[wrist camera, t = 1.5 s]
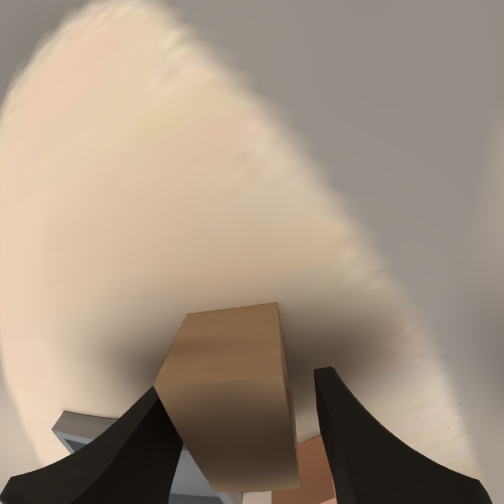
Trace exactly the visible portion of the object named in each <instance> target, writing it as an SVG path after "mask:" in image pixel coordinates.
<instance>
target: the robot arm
mask: <svg viewBox="0 0 504 504" xmlns="http://www.w3.org/2000/svg"><path fill="white" fill-rule="evenodd" d="M314 379H315V391H316V405H317V413H318V420H319V426H320V433H321V437H322V440H323V444H324V448H325V452H326V455H327V459H328V463H329V467H330V470H331V474H332V478H333V482H334V487H335V492H336V500H337V504H492V502H491V499H490V497H489V495H488V493H487V491H486V490H485V488H484V487H483V485H482V484H481V483H480V481H479V480H477V479H474V478H471V477H468V476H465V475H463V474H460V473H458V472H455V471H453V470H450V469H448V468H446V467H444V466H442V465H440V464H438V463H436V462H434V461H432V460H431V459H429V458H427V457H425V456H424V455H422V454H420V453H419V452H417V451H415V450H414V449H412V448H411V447H409V446H408V445H406V444H405V443H404V442H402V441H401V440H400V439H398V438H397V437H396V436H394V435H393V434H392V433H391V432H389V431H388V430H387V429H386V428H385V427H384V426H383V425H381V424H380V423H379V422H378V421H377V420H376V419H375V418H374V417H373V416H372V415H371V414H370V413H369V412H368V411H367V410H366V409H365V408H364V407H363V406H362V404H361V403H360V402H359V401H358V400H357V399H356V398H355V396H354V395H353V394H352V393H351V392H350V390H349V389H348V388H347V386H346V385H345V384H344V382H343V381H342V380H341V378H340V377H339V375H338V374H337V372H336V370H335V369H334V368H333V367H326V368H321V369H315V370H314ZM183 444H184V443H183V441H182V439H181V437H180V436H179V434H178V432H177V430H176V428H175V427H174V425H173V423H172V421H171V419H170V417H169V415H168V413H167V412H166V410H165V408H164V406H163V404H162V402H161V400H160V398H159V396H158V394H157V392H156V390H155V387H154V385H153V386H152V387H151V388H150V389H149V390H148V391H147V392H146V393H145V394H144V395H143V396H142V397H141V398H140V399H139V400H138V401H137V402H136V403H135V404H134V405H133V406H132V407H131V408H130V409H129V410H128V411H127V412H126V413H125V414H123V415H122V416H121V417H120V418H119V419H118V420H117V421H116V422H115V423H113V424H112V425H111V426H110V427H109V428H108V429H106V430H105V431H104V432H103V433H102V434H101V435H99V436H98V437H97V438H95V439H94V440H93V441H91V442H90V443H88V444H87V445H85V446H84V447H82V448H81V449H79V450H78V451H76V452H74V453H72V454H71V455H69V456H67V457H65V458H63V459H61V460H60V461H57V462H55V463H53V464H51V465H48V466H46V467H43V468H41V469H38V470H35V471H32V472H29V473H25V474H21V475H17V476H13V477H11V478H10V480H9V481H8V483H7V484H6V486H5V488H4V490H3V491H2V493H1V495H0V501H1V502H2V503H3V504H168V502H169V495H170V491H171V486H172V483H173V479H174V476H175V472H176V469H177V465H178V462H179V458H180V455H181V451H182V448H183Z"/></svg>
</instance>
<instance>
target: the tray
mask: <svg viewBox="0 0 504 504" xmlns="http://www.w3.org/2000/svg"><path fill="white" fill-rule="evenodd" d="M116 421H117V419H109V418H101V417H94V416H87V415H81V414H75V413H70V412H63V413H62V415H61V416H60V418H59V419H58V421H57V422H56V424H55V425H54V426H53V428H52V429H51V430H52V431H53V432H54V434H55V435H56V436H57V437H58V439H59V440H60V441H61V442H62V444H63V445H64V446H65V447H66V448H67V450H68V451H69V452H70V453H71V454H72V453H74V452H76V451H78V450H79V449H81V448H82V447H84V446H85V445H87V444H88V443H90V442H91V441H93V440H94V439H95V438H97V437H98V436H99V435H101V434H102V433H103V432H104V431H105V430H106V429H108V428H109V427H110V426H111V425H112V424H113V423H115V422H116ZM242 501H243V494H242V492H214V490H213V489H212V487H211V486H210V484H209V483H208V481H207V480H206V478H205V477H204V475H203V474H202V472H201V471H200V469H199V467H198V466H197V464H196V463H195V461H194V459H193V458H192V456H191V454H190V453H189V451H188V449H187V448H186V446H185V444H183V448H182V451H181V455H180V458H179V462H178V465H177V469H176V472H175V476H174V479H173V483H172V486H171V491H170V495H169V502H168V504H242Z"/></svg>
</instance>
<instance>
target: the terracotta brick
mask: <svg viewBox="0 0 504 504" xmlns="http://www.w3.org/2000/svg"><path fill="white" fill-rule="evenodd" d="M297 447H298V459H299V471H300V484H301V488H296V489H287V490H276V491H272V504H337V500H336V492H335V487H334V482H333V478H332V474H331V470H330V467H329V463H328V459H327V455H326V452H325V448H324V444H323V440H322V437H321V434H320V435H318V436H316V437H314V438H312V439H310V440H308V441H306V442H304V443H302V444H299V445H297Z"/></svg>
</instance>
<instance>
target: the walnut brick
mask: <svg viewBox="0 0 504 504" xmlns="http://www.w3.org/2000/svg"><path fill="white" fill-rule="evenodd" d="M153 385H154V387H155V390H156V392H157V394H158V396H159V398H160V400H161V402H162V404H163V406H164V408H165V410H166V412H167V413H168V415H169V417H170V419H171V421H172V423H173V425H174V427H175V428H176V430H177V432H178V434H179V436H180V437H181V439H182V441H183V443H184V444H185V446H186V448H187V449H188V451H189V453H190V454H191V456H192V458H193V459H194V461H195V463H196V464H197V466H198V467H199V469H200V471H201V472H202V474H203V475H204V477H205V478H206V480H207V481H208V483H209V484H210V486H211V487H212V489H213V490H214V492H261V491H276V490H287V489H296V488H301V484H300V471H299V459H298V447H297V436H296V425H295V416H294V409H293V402H292V396H291V389H290V382H289V376H288V369H287V363H286V357H285V350H284V344H283V338H282V332H281V325H280V319H279V313H278V307H277V302H274V303H268V304H261V305H254V306H247V307H240V308H232V309H225V310H217V311H209V312H200V313H192V314H187V316H186V318H185V320H184V322H183V324H182V326H181V328H180V330H179V332H178V334H177V336H176V338H175V340H174V342H173V344H172V346H171V348H170V350H169V353H168V355H167V357H166V359H165V361H164V363H163V365H162V367H161V369H160V371H159V374H158V376H157V378H156V380H155V382H154V384H153Z"/></svg>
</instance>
